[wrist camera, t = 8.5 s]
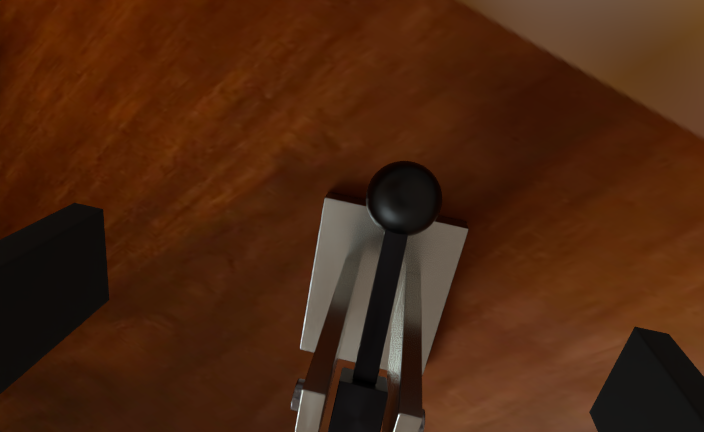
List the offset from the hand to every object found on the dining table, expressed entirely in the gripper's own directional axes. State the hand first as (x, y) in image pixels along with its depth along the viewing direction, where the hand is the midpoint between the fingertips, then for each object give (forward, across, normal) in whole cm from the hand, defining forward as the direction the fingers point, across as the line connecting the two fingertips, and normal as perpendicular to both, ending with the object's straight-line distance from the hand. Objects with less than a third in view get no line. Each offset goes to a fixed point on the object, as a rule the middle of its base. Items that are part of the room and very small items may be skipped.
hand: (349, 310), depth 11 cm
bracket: (+17, +1, -10) cm, 20 cm away
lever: (+10, +1, -6) cm, 12 cm away
